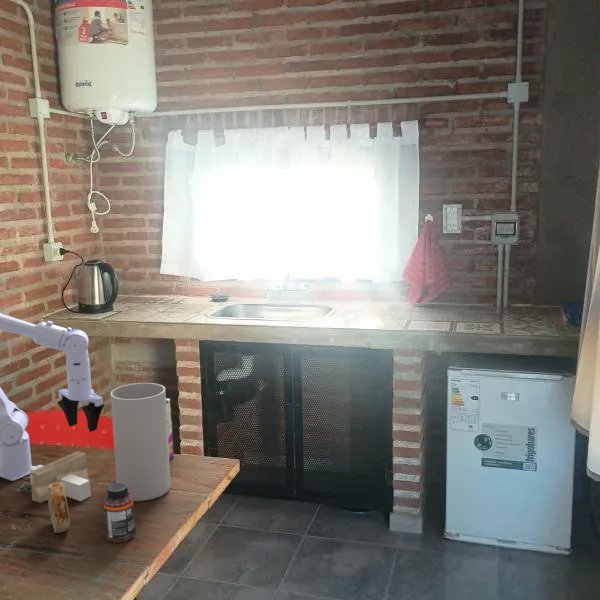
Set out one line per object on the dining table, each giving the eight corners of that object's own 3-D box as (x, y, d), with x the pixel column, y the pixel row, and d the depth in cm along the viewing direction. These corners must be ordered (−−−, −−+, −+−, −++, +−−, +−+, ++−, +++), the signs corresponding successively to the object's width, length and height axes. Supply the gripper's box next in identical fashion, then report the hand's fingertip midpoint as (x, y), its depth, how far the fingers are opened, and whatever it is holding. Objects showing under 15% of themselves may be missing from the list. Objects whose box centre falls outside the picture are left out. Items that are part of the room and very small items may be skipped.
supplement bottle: (111, 529, 143) (107, 479, 141) (139, 529, 143) (135, 479, 141) (102, 544, 137) (98, 493, 135) (131, 544, 137) (127, 492, 135)
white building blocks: (31, 484, 165) (29, 469, 165) (41, 479, 168) (40, 464, 167) (80, 501, 156) (79, 485, 155) (90, 496, 158) (89, 480, 158)
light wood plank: (32, 500, 157) (29, 472, 156) (80, 477, 169) (77, 451, 167) (40, 503, 155) (38, 474, 154) (88, 479, 167) (86, 453, 166)
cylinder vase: (116, 483, 165) (109, 386, 160) (167, 475, 169) (162, 380, 164) (119, 506, 153) (111, 402, 149) (173, 497, 157) (168, 395, 152)
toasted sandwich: (72, 537, 140) (69, 493, 138) (54, 541, 139) (50, 496, 137) (67, 515, 149) (63, 473, 148) (49, 519, 148) (45, 477, 146)
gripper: (110, 377, 171) (114, 427, 174) (72, 369, 179) (76, 418, 181) (89, 384, 165) (93, 436, 168) (50, 376, 173) (54, 426, 175)
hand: (82, 427), depth 174 cm, fingers open, 7 cm apart
